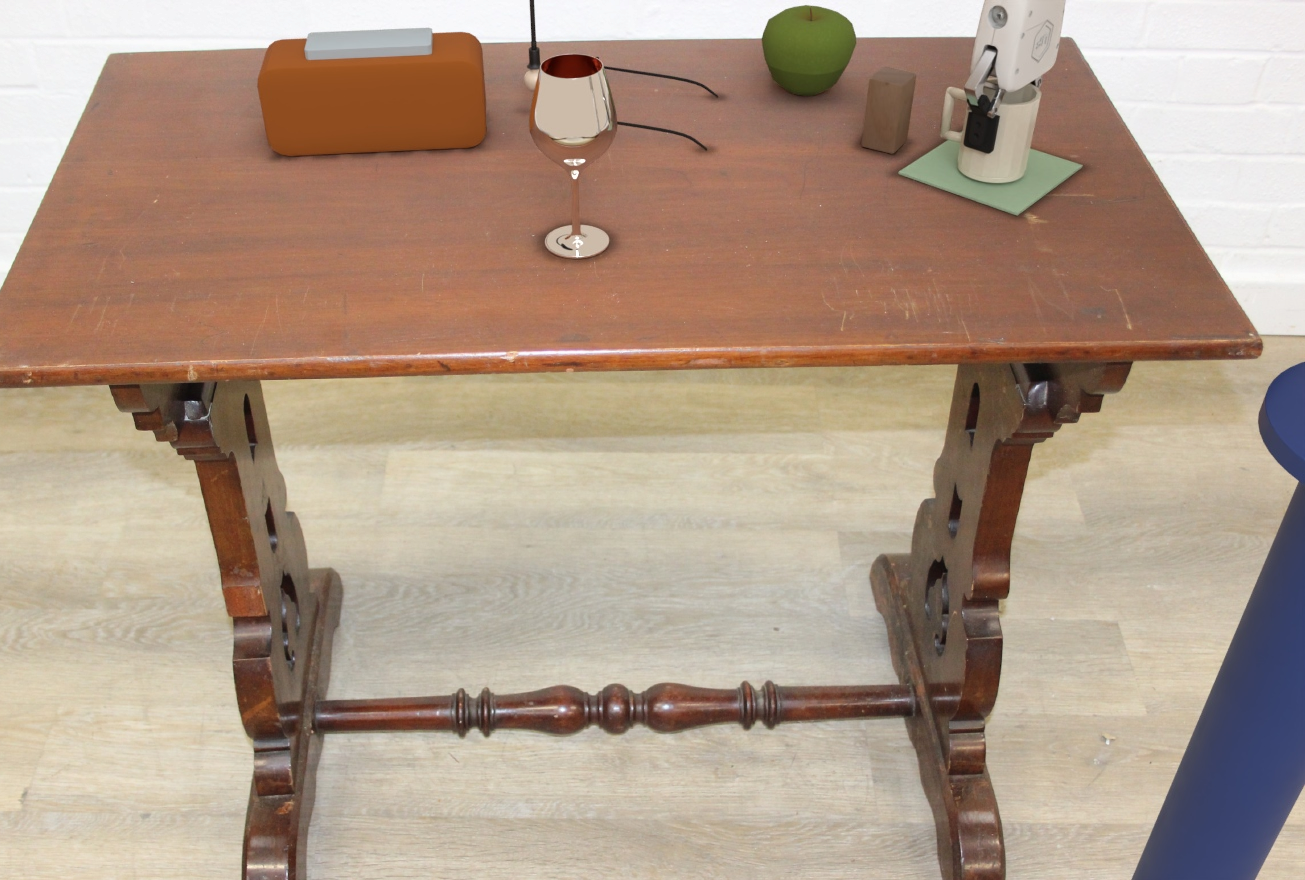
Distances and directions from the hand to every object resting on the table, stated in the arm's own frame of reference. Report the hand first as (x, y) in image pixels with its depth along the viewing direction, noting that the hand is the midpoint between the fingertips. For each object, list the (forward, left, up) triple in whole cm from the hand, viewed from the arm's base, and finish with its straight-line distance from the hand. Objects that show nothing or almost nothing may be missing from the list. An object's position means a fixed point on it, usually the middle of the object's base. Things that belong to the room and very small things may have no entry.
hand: (997, 135), depth 138 cm
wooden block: (+12, +1, -5) cm, 13 cm away
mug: (+2, 0, -4) cm, 4 cm away
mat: (0, -1, -4) cm, 4 cm away
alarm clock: (+56, +36, -5) cm, 67 cm away
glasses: (+36, +13, -5) cm, 39 cm away
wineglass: (+23, +39, -5) cm, 46 cm away
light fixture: (+48, +19, -5) cm, 52 cm away
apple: (+27, -5, -5) cm, 28 cm away
